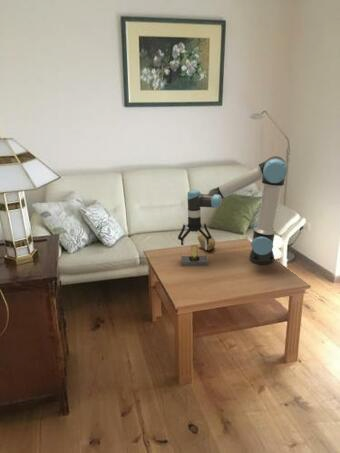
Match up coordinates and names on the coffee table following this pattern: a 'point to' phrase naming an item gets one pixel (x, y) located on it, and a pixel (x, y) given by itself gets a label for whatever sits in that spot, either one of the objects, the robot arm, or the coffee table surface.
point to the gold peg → (194, 252)
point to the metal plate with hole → (187, 261)
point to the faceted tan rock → (202, 242)
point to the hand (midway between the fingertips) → (194, 249)
